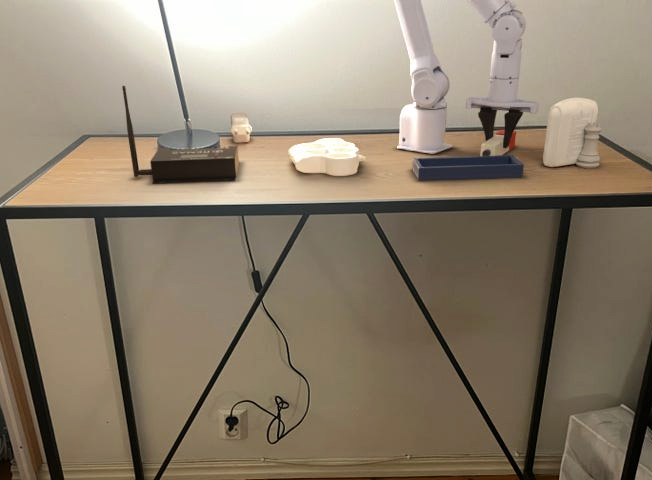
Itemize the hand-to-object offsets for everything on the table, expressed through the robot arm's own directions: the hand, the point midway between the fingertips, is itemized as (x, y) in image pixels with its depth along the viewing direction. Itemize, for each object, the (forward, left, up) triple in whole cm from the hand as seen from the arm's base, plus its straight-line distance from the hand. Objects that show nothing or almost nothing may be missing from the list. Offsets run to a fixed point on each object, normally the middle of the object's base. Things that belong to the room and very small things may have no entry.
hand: (497, 146), depth 151 cm
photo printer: (+15, 0, -2) cm, 15 cm away
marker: (0, 0, -1) cm, 1 cm away
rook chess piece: (+19, 0, -2) cm, 19 cm away
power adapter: (-52, -24, -2) cm, 57 cm away
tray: (+3, -18, -1) cm, 18 cm away
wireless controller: (-42, -49, -2) cm, 65 cm away
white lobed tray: (-23, -28, -2) cm, 36 cm away
